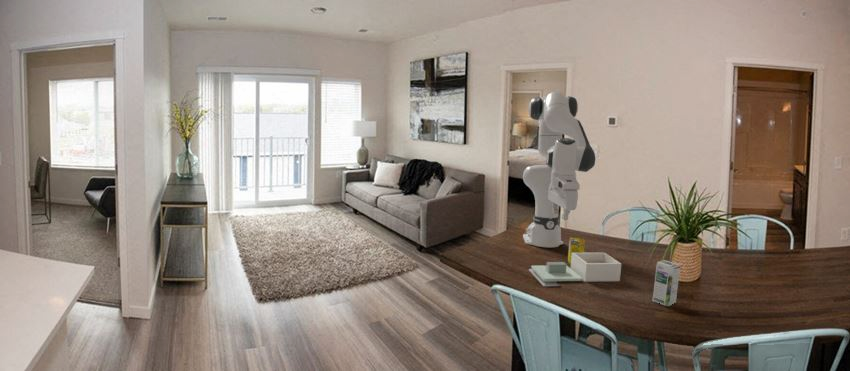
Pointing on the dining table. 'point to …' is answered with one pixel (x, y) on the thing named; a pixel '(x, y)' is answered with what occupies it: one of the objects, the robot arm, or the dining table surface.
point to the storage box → (595, 267)
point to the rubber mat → (543, 281)
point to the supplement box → (575, 247)
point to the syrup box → (666, 282)
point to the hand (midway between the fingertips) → (560, 216)
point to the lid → (556, 272)
